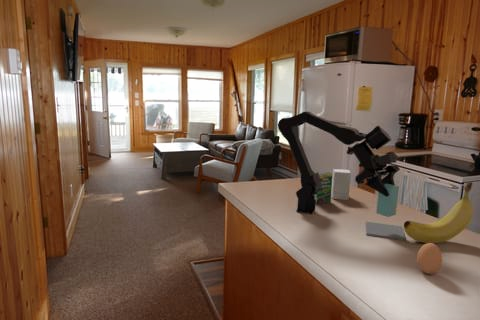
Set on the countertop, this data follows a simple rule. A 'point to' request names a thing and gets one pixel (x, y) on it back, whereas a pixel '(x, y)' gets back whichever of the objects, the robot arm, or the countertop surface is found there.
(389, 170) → the robot arm
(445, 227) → the banana
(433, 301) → the countertop surface
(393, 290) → the countertop surface
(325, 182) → the coffee box
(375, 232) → the slate mat
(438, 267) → the egg
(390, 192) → the teal block
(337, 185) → the supplement box
